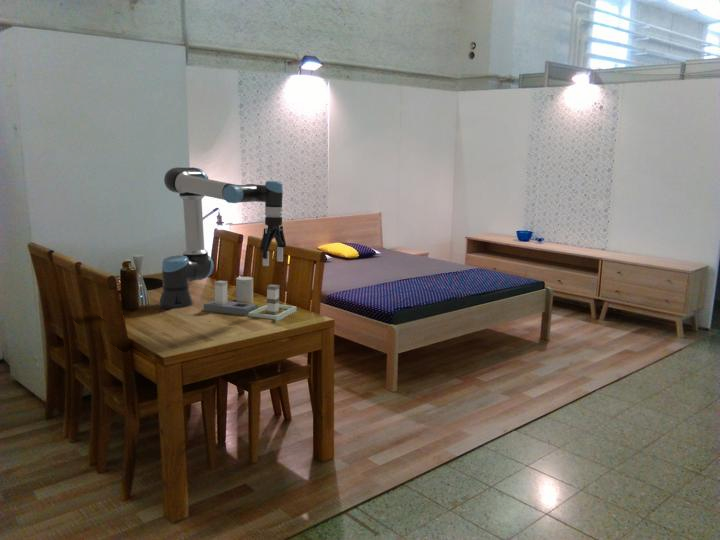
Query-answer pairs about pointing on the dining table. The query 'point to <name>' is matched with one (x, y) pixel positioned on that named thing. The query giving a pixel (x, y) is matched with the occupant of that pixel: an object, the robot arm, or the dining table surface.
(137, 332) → the dining table surface
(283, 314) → the pale green rectangular frame
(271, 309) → the fuse
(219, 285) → the cylinder
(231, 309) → the fuse holder
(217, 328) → the dining table surface
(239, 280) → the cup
